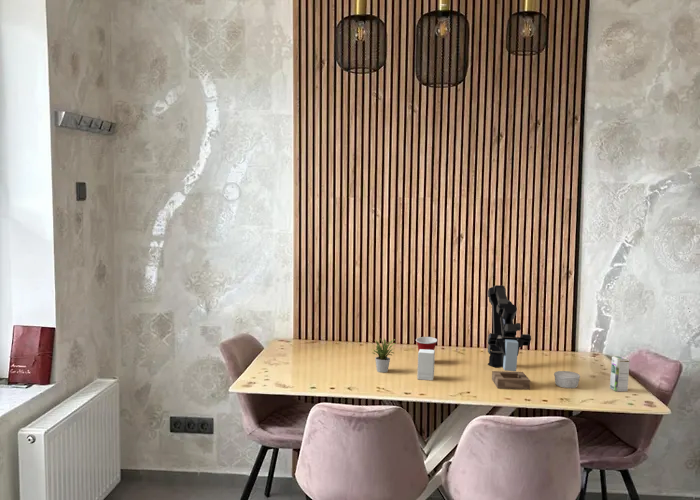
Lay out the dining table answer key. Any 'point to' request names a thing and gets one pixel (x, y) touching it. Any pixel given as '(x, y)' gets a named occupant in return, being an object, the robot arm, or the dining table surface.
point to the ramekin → (566, 379)
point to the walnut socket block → (510, 380)
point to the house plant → (383, 356)
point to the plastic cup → (426, 343)
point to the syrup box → (619, 373)
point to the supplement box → (426, 364)
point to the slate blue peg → (510, 355)
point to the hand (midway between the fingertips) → (511, 355)
